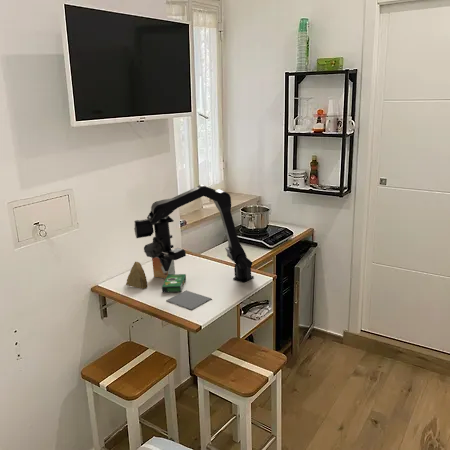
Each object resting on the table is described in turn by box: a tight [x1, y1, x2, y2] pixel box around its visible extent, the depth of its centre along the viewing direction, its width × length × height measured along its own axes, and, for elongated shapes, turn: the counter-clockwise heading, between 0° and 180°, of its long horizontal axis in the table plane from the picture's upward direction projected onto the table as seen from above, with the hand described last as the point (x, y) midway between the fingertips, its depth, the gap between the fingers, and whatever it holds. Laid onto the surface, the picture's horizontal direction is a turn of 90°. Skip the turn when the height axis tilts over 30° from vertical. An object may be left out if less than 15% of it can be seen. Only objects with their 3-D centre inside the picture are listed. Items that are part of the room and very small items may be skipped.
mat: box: [166, 289, 212, 311], centre depth 187 cm, size 14×11×1 cm
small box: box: [151, 257, 176, 280], centre depth 211 cm, size 8×6×10 cm
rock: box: [125, 261, 148, 290], centre depth 203 cm, size 11×9×10 cm
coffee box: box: [161, 273, 187, 293], centre depth 200 cm, size 8×3×13 cm
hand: (166, 270), depth 191 cm, fingers closed
